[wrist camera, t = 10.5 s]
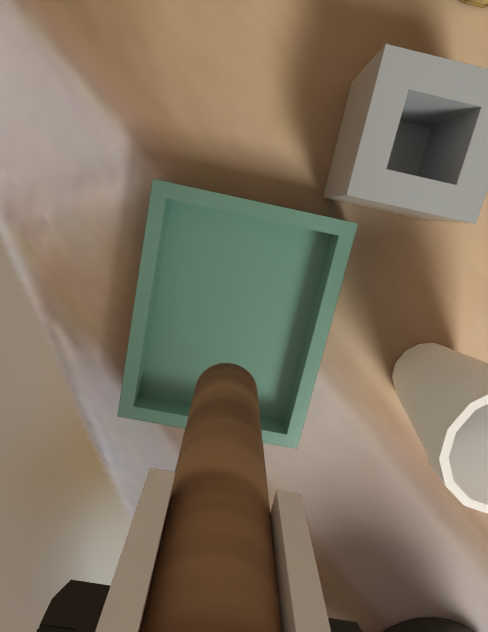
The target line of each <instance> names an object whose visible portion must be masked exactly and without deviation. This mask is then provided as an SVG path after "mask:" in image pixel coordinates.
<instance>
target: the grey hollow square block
mask: <svg viewBox="0 0 488 632" xmlns="http://www.w3.org/2000/svg"><path fill="white" fill-rule="evenodd" d="M487 189H488V69H486V68H482V67H478V66H474V65H470V64H466V63H462V62H458V61H454V60H450V59H446V58H442V57H438V56H434V55H430V54H426V53H421V52H417V51H413V50H409V49H405V48H401V47H397V46H393V45H389V44H385V45H384V46H383V48H382V49H381V50H380V51H379V52H378V53H377V54H376V55H375V56H374V58H373V59H372V60H371V61H370V62H369V63H368V64H367V65H366V67H365V68H364V69H363V70H362V71H361V72H360V73H359V74H358V75H357V77H356V78H355V79H354V80H353V81H352V82H351V86H350V90H349V94H348V98H347V102H346V106H345V110H344V114H343V118H342V122H341V126H340V130H339V135H338V139H337V143H336V147H335V151H334V155H333V159H332V163H331V167H330V171H329V175H328V179H327V183H326V187H325V191H324V195H323V198H325V199H330V200H334V201H339V202H343V203H348V204H352V205H357V206H361V207H366V208H371V209H375V210H380V211H384V212H389V213H393V214H398V215H402V216H407V217H411V218H416V219H420V220H426V221H441V222H456V223H470V224H476V222H477V219H478V216H479V213H480V210H481V207H482V204H483V201H484V198H485V195H486V192H487Z"/></svg>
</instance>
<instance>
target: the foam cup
mask: <svg viewBox="0 0 488 632" xmlns="http://www.w3.org/2000/svg"><path fill="white" fill-rule="evenodd" d="M392 380H393V384H394V388H395V391H396V394H397V396H398V398H399V400H400V402H401V403H402V405H403V407H404V409H405V411H406V413H407V415H408V417H409V419H410V421H411V423H412V425H413V427H414V429H415V431H416V433H417V435H418V437H419V439H420V441H421V443H422V445H423V447H424V448H425V450H426V452H427V456H428V460H429V464H430V466H431V467H432V469H433V470H434V471H435V473H436V474H437V475H438V477H439V478H440V479H441V481H442V482H443V483H444V485H445V486H446V487H447V488H448V489H449V490H450V491H451V492H452V493H453V494H454V495H455V496H456V497H457V498H458V500H459V501H460V502H461V503H462V504H463V505H464V506H467V507H470V508H473V509H476V510H479V511H482V512H485V513H488V363H486V362H483V361H481V360H478V359H476V358H473V357H470V356H468V355H465V354H463V353H460V352H458V351H455V350H452V349H450V348H447V347H445V346H442V345H439V344H436V343H423V344H417V345H416V346H414V347H412V348H410V349H408V350H406V351H405V352H404V353H403V354H402V355H401V357H400V358H399V359H398V360H397V362H396V363H395V366H394V370H393V374H392Z"/></svg>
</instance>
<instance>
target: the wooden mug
mask: <svg viewBox="0 0 488 632" xmlns="http://www.w3.org/2000/svg"><path fill="white" fill-rule="evenodd" d="M459 1H460V2H461V3H464V4H469V5H473V6H477V7H481V8H485V7H488V0H459Z"/></svg>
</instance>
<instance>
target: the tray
mask: <svg viewBox="0 0 488 632" xmlns="http://www.w3.org/2000/svg"><path fill="white" fill-rule="evenodd" d="M357 226H358V223H353V222H349V221H344V220H340V219H335V218H330V217H326V216H321V215H317V214H312V213H308V212H303V211H298V210H294V209H289V208H285V207H280V206H275V205H271V204H266V203H262V202H257V201H253V200H248V199H243V198H239V197H234V196H230V195H225V194H220V193H216V192H211V191H207V190H202V189H198V188H193V187H188V186H184V185H179V184H175V183H170V182H165V181H161V180H156V179H153V181H152V188H151V194H150V201H149V208H148V214H147V221H146V228H145V235H144V241H143V248H142V255H141V262H140V268H139V275H138V282H137V289H136V295H135V302H134V309H133V315H132V322H131V329H130V336H129V342H128V349H127V356H126V363H125V369H124V376H123V383H122V390H121V396H120V403H119V410H118V417H124V418H130V419H135V420H141V421H146V422H152V423H157V424H163V425H168V426H174V427H179V428H186V424H187V420H188V416H189V411H190V407H191V403H192V399H193V395H194V390H195V386H196V383H197V380H198V378H199V377H200V375H201V374H202V373H203V372H204V371H205V370H206V369H208V368H209V367H211V366H213V365H216V364H219V363H233V364H236V365H239V366H241V367H243V368H245V369H246V370H247V371H248V372H249V373H250V374H251V375H252V376H253V378H254V380H255V382H256V385H257V392H258V402H259V412H260V421H261V431H262V441H263V443H268V444H273V445H279V446H284V447H290V448H295V449H297V447H298V443H299V440H300V436H301V432H302V429H303V425H304V421H305V418H306V414H307V410H308V406H309V403H310V399H311V395H312V392H313V388H314V384H315V381H316V377H317V373H318V370H319V366H320V362H321V358H322V355H323V351H324V347H325V344H326V340H327V336H328V333H329V329H330V325H331V322H332V318H333V314H334V310H335V307H336V303H337V299H338V296H339V292H340V288H341V285H342V281H343V277H344V274H345V270H346V266H347V262H348V259H349V255H350V251H351V248H352V244H353V240H354V237H355V233H356V229H357Z"/></svg>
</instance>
